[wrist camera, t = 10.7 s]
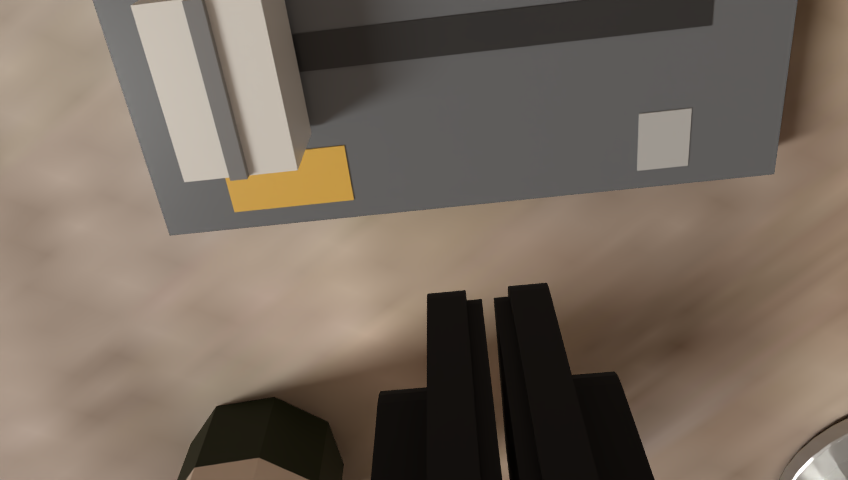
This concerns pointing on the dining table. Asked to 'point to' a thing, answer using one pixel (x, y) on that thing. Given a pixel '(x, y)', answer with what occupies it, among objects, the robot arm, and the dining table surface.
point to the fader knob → (226, 85)
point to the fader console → (490, 104)
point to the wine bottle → (263, 445)
